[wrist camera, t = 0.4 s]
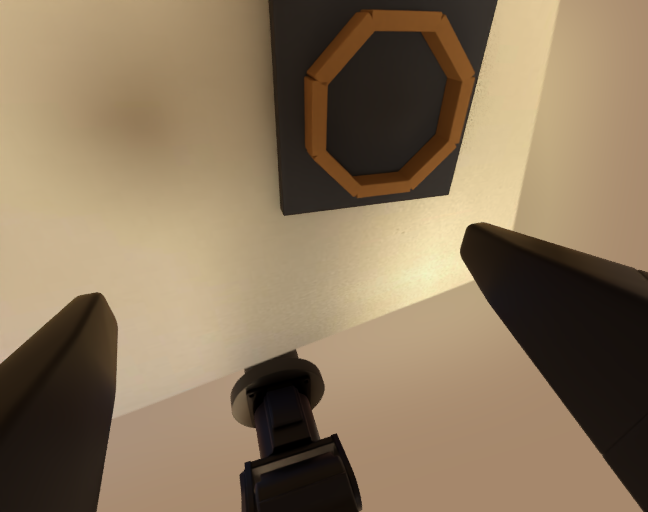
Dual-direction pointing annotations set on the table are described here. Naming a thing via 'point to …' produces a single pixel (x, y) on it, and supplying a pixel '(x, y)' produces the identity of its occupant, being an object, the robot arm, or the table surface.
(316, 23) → the octagonal can holder
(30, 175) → the table surface
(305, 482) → the robot arm
